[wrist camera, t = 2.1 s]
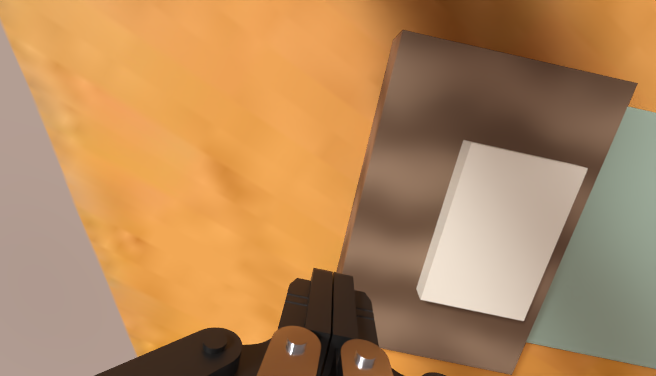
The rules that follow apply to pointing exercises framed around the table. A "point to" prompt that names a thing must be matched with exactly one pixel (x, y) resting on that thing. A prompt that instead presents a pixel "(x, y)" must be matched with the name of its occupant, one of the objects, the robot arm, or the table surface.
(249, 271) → the table surface
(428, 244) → the walnut deck
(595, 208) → the green mat
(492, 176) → the white flat block
